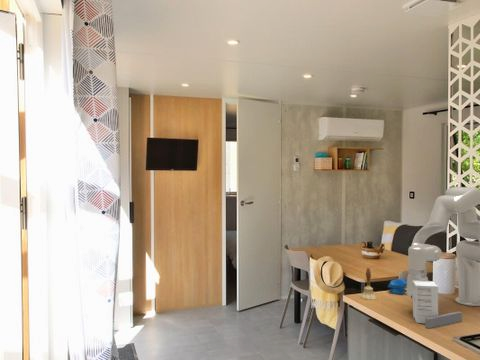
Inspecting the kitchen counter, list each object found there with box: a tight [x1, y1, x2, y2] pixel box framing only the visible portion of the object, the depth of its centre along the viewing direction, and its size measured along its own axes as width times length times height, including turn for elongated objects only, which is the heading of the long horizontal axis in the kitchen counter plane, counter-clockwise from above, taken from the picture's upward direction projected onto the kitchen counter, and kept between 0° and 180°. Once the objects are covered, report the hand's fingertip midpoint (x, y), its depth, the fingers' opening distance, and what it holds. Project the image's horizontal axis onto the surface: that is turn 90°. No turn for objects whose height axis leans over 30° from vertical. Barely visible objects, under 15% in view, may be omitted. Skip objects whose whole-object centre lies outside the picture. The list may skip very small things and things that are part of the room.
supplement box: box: [412, 280, 439, 324], centre depth 180 cm, size 10×9×17 cm
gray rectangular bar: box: [425, 311, 463, 329], centre depth 175 cm, size 20×2×4 cm, turn 112°
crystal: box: [387, 277, 407, 295], centre depth 222 cm, size 7×9×12 cm
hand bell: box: [360, 267, 377, 301], centre depth 215 cm, size 8×8×16 cm
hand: (417, 311), depth 188 cm, fingers closed
